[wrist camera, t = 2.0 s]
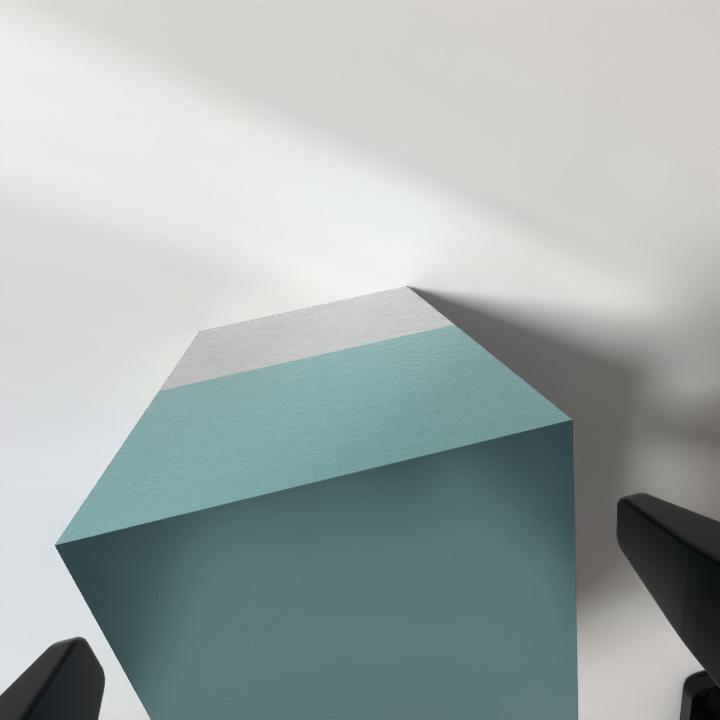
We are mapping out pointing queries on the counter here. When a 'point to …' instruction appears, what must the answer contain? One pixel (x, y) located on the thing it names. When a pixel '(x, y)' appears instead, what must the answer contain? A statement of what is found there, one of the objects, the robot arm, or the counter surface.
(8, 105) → the counter surface
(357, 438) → the teal and white box
